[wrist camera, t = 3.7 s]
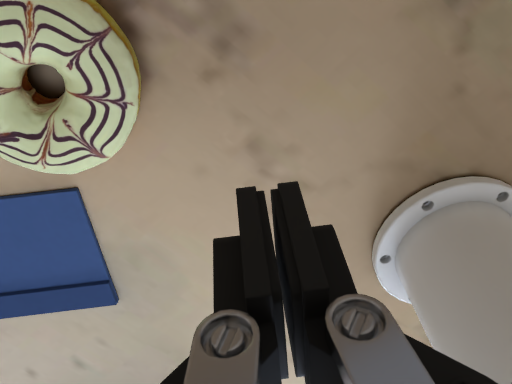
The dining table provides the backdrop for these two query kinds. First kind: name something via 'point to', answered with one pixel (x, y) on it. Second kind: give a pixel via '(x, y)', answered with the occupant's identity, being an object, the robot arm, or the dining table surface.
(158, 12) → the dining table surface
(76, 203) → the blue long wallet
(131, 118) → the decorated donut
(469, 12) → the dining table surface
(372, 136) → the dining table surface
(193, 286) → the dining table surface
